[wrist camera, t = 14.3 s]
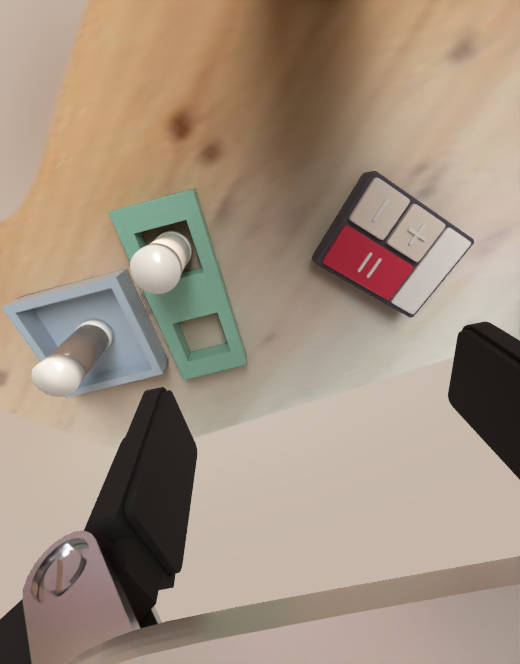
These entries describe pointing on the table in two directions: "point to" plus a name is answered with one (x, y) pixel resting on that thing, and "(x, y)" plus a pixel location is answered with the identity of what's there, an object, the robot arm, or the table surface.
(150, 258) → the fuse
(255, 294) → the table surface
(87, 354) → the fuse
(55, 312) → the parts tray
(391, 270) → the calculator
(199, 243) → the block
